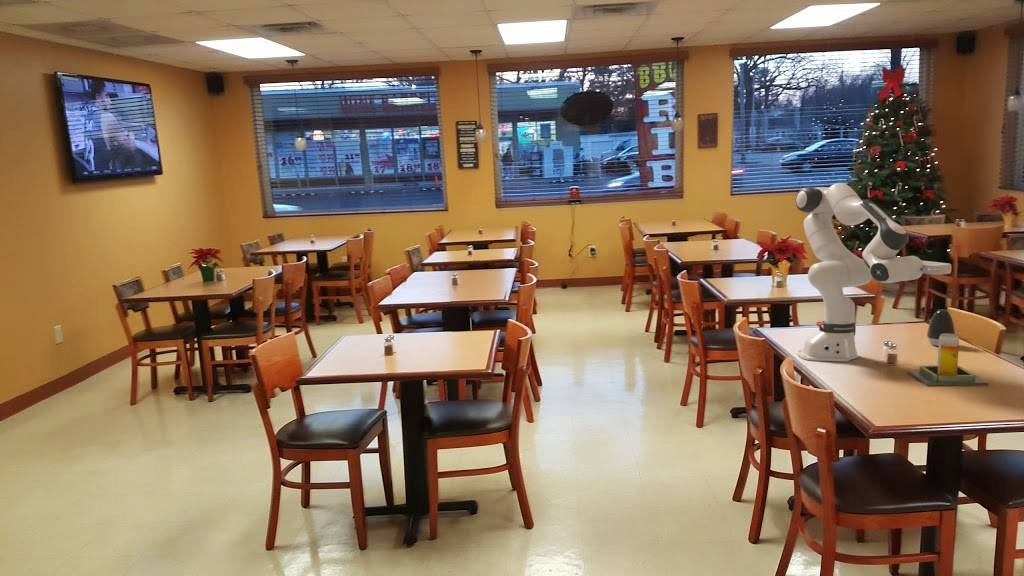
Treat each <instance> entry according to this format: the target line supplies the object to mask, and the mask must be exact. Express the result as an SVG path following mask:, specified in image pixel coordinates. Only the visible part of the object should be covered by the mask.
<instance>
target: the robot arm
mask: <svg viewBox="0 0 1024 576" xmlns="http://www.w3.org/2000/svg"><path fill="white" fill-rule="evenodd" d="M795 206H796V208H797V209H798V210H799V211H800V212H802V213H806V214H809V215H808V216H806V217H805V218H804V220H803V230H804V232H805V236H806V239H807V241H808V243H809V245H810V248H811V250H812V252H813V254H814V255H815V257H816V258H817V259H818V260H820V262H816V263H813V264H812V265H811V266H809V269H808V271H807V279H808V281H809V283H810V285H811V286H812V287H813V288H815V289H816V290H817V291H818V292H819V293H820V295H821V298H822V301H823V308H824V309H823V310H824V320H823V321H820V320H817V321H815V325H816V326H817V327H818V330H817V331H815V332H814V333H813V334H811V335H810V336H808V337H807V338H805V341H803V342H804V343H803V348H802V349H798V350H797V353H798V354H797V355H799V356H800V358H801V359H803V360H806V361H816V362H817V361H821V362H823V361H824V362H849V361H850V360H854V359H857V358H858V357H859V355H858V352H857V351H858V350H857V347H856V342H855V341H856V340H855V338H856V337H855V336H856V331H857V329H856V327H857V326H856V321H855V316H856V315H855V313H856V312H855V309H856V304H855V302H854V301H853V300H852V299H851V298H850V297H847V296H845V294H844V291H843V289H844V288H857V287H859V286H863V285H867V284H869V283H870V282H871V281H872V279H873V280H874V281H877V282H879V283H883V284H892V283H900V282H902V281H904V282H906V281H913V280H918V279H919V278H921V277H922V275H923V274H924V275H925V274H927V275H935V276H937V275H938V276H940V275H941V276H942V275H948V274H951V273H952V264H951V263H947V262H938V261H930V260H929V261H928V260H922V259H920V258H919V257H918V256H916V255H908V256H901V257H900V256H897V254H898V253H899V252H900V251H901V250H902V249H903V247H905V246H906V245H907V244H908V243H909V241H910V240H909V234H908V231H907V229H906V228H905V227H904V226H902V225H901V224H900V223H898V222H896V221H895V220H894V219H893V218H891V216H890V215H888V214H887V213H886V212H885V211H884V210H883V209H882V208H881V207H880V206H878V204H876V203H874V202H873V201H871V200H869V199H861V197H860V196H859V195H858V194H857V193H856V192H855V190H854V189H853V188H852V187H851V186H849V185H848V184H846V183H845V182H837V183H833V184H832V185H831V186H830V187H827V186H826V187H825V186H824V187H823V186H821V187H819V186H818V187H816V186H815V187H812V186H807V187H803V188H801V189H799V191H798V192H797V194H796V196H795ZM868 219H869V220H871V221H872V222H873V223H874V224H875V226H876V227H878V230H877V233H876V235H874V237H873V238H872V240H870V242H869V243H868V244H867V246H866V247H865V248H864V250H863V251H862V253H861V254H862V255H861V256H862V258H860V257H859V256H857V255H856V254H854V253H853V252H851V251H850V250H849V249H848V248H847V247H846V246H845V245H844V243H843V241H842V240H841V239H840V237H839V235H838V233H837V232H836V231H837V230H836V229H835V227H834V225H833V224H832V220H837V221H838V222H839V223H840V224H842V225H846V226H855V225H859V224H861V223H863V222H865V221H866V220H868ZM799 356H798V357H799Z"/></svg>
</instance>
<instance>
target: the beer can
mask: <svg viewBox="0 0 1024 576" xmlns="http://www.w3.org/2000/svg"><path fill="white" fill-rule="evenodd" d="M959 344H960V338H959V336H958V334H956V333H955V334H949V333H944V334H941V335H940V337H939V346H938V350H937V351H938V354H937V366H938V369H937V374H938V375H957V368H958V366H959V347H960V345H959Z"/></svg>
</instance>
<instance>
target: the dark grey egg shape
mask: <svg viewBox="0 0 1024 576" xmlns="http://www.w3.org/2000/svg"><path fill="white" fill-rule="evenodd" d="M944 333H949V334H956V327H955V324H954V321H953V317H952V315H951V314H950V312H949V311H948V310H946V309H941V308H939V309H938V310H936V311H935V312H934V313H933V315H932V317H931V319H930V322H929V325H928V328H927V333H926V336H927V339H928V342H929V343H930V344H931V345H933V346H936V347H939V337H940V335H941V334H944Z"/></svg>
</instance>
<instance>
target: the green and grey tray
mask: <svg viewBox="0 0 1024 576" xmlns="http://www.w3.org/2000/svg"><path fill="white" fill-rule="evenodd" d="M937 369H938V365H922V366H921V365H920V366H919V369H908V370H907V374H909V375H910V376H911V377H913V378H914V379H915V380H917V381H918V382H920V383H921V384H922V385H924V386H925V387H926V386H927V387H932V386H933V387H934V386H935V387H937V386H939V387H941V386H943V387H947V386H949V387H951V386H954V387H956V386H957V387H958V386H959V387H961V386H969V387H970V386H971V387H973V386H989V382H988V381H986V380H985V379H983V378H982V377H979V376H977V375H976V374H975V373H973V372H971V371H969V370H968V369H965V368H964V367H962V366H960V365H958V368H957V375H938V374H937Z"/></svg>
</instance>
